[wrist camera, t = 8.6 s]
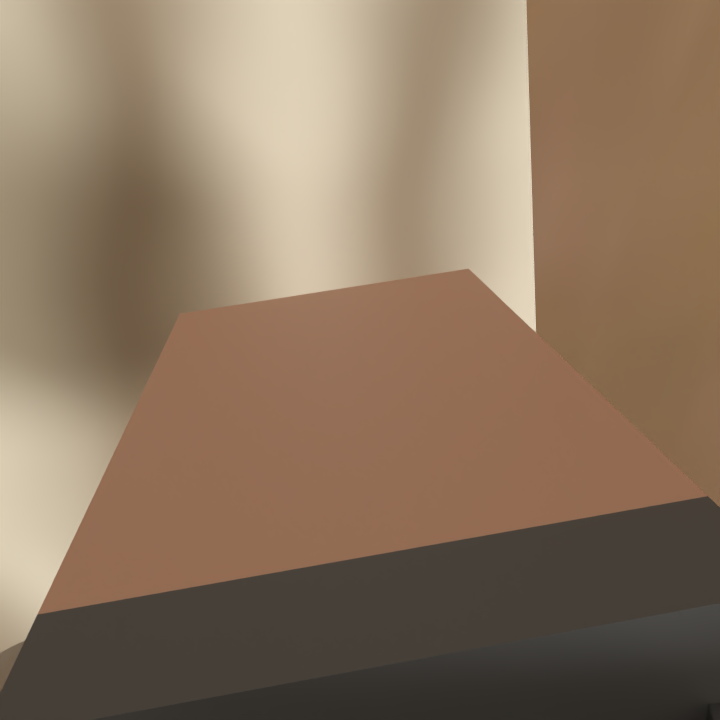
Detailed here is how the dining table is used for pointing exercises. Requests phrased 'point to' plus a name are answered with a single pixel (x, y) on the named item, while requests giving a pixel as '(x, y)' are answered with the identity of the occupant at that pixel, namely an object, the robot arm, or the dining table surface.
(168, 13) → the board
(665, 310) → the dining table surface
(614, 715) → the block
